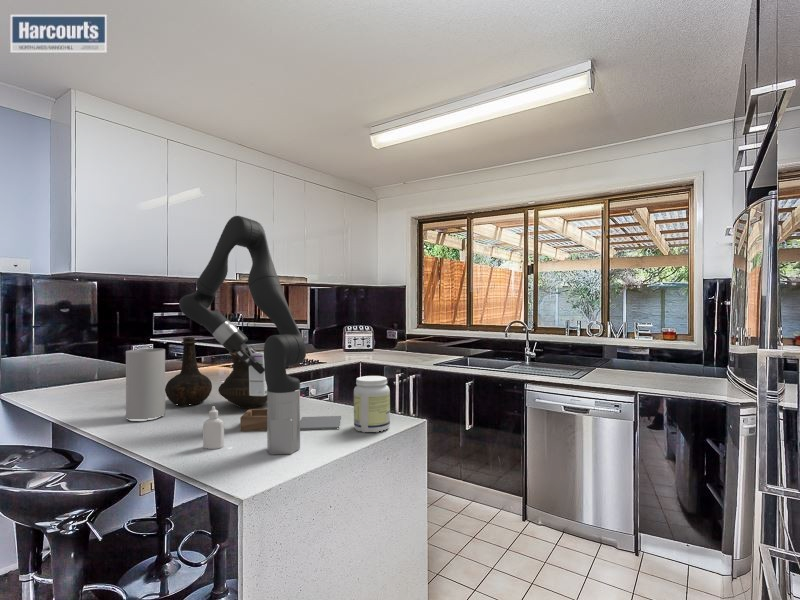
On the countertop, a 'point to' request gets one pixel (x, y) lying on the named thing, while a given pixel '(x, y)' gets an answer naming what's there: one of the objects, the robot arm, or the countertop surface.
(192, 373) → the brown bulbous vase
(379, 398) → the supplement tub
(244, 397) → the ceramic pot
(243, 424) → the walnut collar
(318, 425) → the grey flat block
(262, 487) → the countertop surface
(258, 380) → the syrup box
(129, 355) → the cylinder vase
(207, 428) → the eye dropper bottle
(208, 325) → the robot arm
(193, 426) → the countertop surface
